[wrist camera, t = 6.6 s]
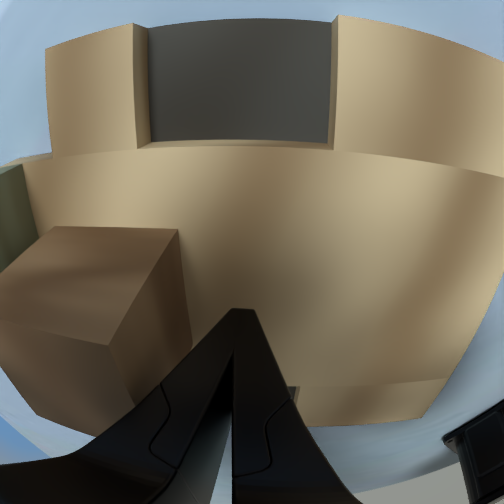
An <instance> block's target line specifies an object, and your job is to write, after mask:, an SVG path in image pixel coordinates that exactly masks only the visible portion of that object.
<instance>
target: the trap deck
mask: <svg viewBox="0 0 504 504" xmlns="http://www.w3.org/2000/svg"><path fill="white" fill-rule="evenodd" d="M45 71H46V96H47V110H48V121H49V131H50V139H51V147H52V153H46V154H40V155H35V156H29V157H24V158H19V159H16V160H14V161H12V162H10V163H7V164H5V165H3V166H1V167H0V273H1V272H2V271H4V270H5V269H6V268H7V267H8V266H9V265H10V264H11V263H12V262H13V261H14V260H15V259H17V258H18V257H19V256H20V255H21V254H22V253H23V252H24V251H26V250H27V249H28V248H29V247H30V246H31V245H32V244H34V243H35V242H36V241H37V240H38V239H40V238H41V237H42V236H43V235H44V234H46V233H47V232H48V231H49V230H50V229H52V228H53V227H54V226H84V227H131V228H166V229H178V234H179V244H180V253H181V261H182V270H183V278H184V285H185V293H186V300H187V307H188V314H189V321H190V327H191V334H192V340H193V345H192V349H193V348H194V347H195V346H196V345H197V344H198V343H199V342H200V340H201V339H202V338H203V337H204V336H205V335H206V334H207V333H208V332H209V331H210V330H211V329H212V328H213V327H214V326H215V325H216V324H217V323H218V322H219V320H220V319H221V318H222V317H223V316H224V315H225V314H226V313H227V312H228V311H229V310H230V309H231V308H246V309H254V310H255V311H256V314H257V316H258V318H259V321H260V323H261V325H262V328H263V330H264V333H265V335H266V337H267V340H268V342H269V344H270V347H271V349H272V351H273V354H274V356H275V358H276V361H277V363H278V365H279V368H280V370H281V372H282V375H283V377H284V379H285V382H286V384H287V386H288V389H289V391H290V393H291V395H292V399H293V400H294V402H295V404H296V407H297V409H298V411H299V413H300V415H301V417H302V419H303V421H304V423H305V425H306V427H319V426H348V425H364V424H376V423H386V422H395V421H403V420H411V419H418V418H422V417H423V415H424V414H425V413H426V411H427V410H428V408H429V407H430V406H431V404H432V403H433V401H434V400H435V399H436V397H437V396H438V394H439V393H440V391H441V390H442V388H443V387H444V385H445V384H446V382H447V381H448V379H449V378H450V376H451V375H452V373H453V371H454V370H455V368H456V367H457V365H458V363H459V362H460V360H461V358H462V356H463V355H464V353H465V351H466V350H467V348H468V346H469V344H470V342H471V341H472V339H473V337H474V335H475V333H476V331H477V329H478V327H479V325H480V324H481V322H482V320H483V318H484V316H485V313H486V311H487V309H488V307H489V305H490V303H491V301H492V299H493V296H494V294H495V292H496V290H497V287H498V285H499V282H500V280H501V278H502V275H503V273H504V62H502V61H500V60H498V59H496V58H493V57H491V56H489V55H486V54H484V53H482V52H479V51H477V50H474V49H472V48H469V47H466V46H464V45H461V44H458V43H455V42H453V41H450V40H447V39H444V38H441V37H437V36H434V35H431V34H428V33H424V32H421V31H417V30H413V29H409V28H406V27H402V26H397V25H393V24H389V23H384V22H379V21H374V20H369V19H363V18H357V17H351V16H344V15H338V16H337V17H336V18H335V19H334V20H333V22H332V23H330V22H321V21H310V20H295V19H265V18H253V19H223V20H208V21H197V22H188V23H180V24H172V25H165V26H159V27H153V28H145V27H143V26H140V25H137V24H134V23H131V24H126V25H122V26H118V27H114V28H110V29H106V30H102V31H99V32H95V33H92V34H88V35H85V36H82V37H78V38H75V39H72V40H69V41H66V42H63V43H61V44H58V45H55V46H52V47H50V48H47V49H45ZM192 349H191V350H192Z"/></svg>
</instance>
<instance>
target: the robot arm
mask: <svg viewBox="0 0 504 504" xmlns="http://www.w3.org/2000/svg"><path fill="white" fill-rule="evenodd" d="M231 422H232V504H363V503H361V502H360V501H359V500H358V499H356V498H355V497H354V496H353V495H352V494H351V492H350V491H349V490H348V489H347V488H346V487H345V485H344V484H343V483H342V481H341V480H340V478H339V477H338V475H337V474H336V472H335V471H334V469H333V468H332V466H331V465H330V463H329V462H328V460H327V459H326V457H325V456H324V454H323V453H322V451H321V450H320V448H319V447H318V445H317V444H316V442H315V441H314V439H313V437H312V436H311V434H310V432H309V430H308V429H307V427H306V425H305V423H304V421H303V419H302V417H301V415H300V413H299V411H298V409H297V407H296V404H295V402H294V400H293V399H292V395H291V393H290V391H289V389H288V386H287V384H286V382H285V379H284V377H283V375H282V372H281V370H280V368H279V365H278V363H277V361H276V358H275V356H274V354H273V351H272V349H271V347H270V344H269V342H268V340H267V337H266V335H265V333H264V330H263V328H262V325H261V323H260V321H259V318H258V316H257V314H256V311H255V310H254V309H246V308H231V309H230V310H229V311H228V312H227V313H226V314H225V315H224V316H223V317H222V318H221V319H220V320H219V322H218V323H217V324H216V325H215V326H214V327H213V328H212V329H211V330H210V331H209V332H208V333H207V334H206V335H205V336H204V337H203V338H202V339H201V340H200V342H199V343H198V344H197V345H196V346H195V347H194V348H193V349H192V350H191V351H190V352H189V353H188V354H187V355H186V356H185V357H184V358H183V359H182V360H181V361H180V362H179V363H178V364H177V365H176V367H175V368H174V369H173V370H172V371H171V372H170V373H169V374H168V375H167V376H166V377H165V378H164V379H163V380H162V381H161V382H160V385H157V386H156V387H155V388H154V389H153V390H152V391H151V392H150V393H149V394H148V395H147V396H146V397H145V398H144V399H143V400H142V401H141V402H140V403H139V404H137V405H136V406H135V407H134V408H133V409H132V410H130V411H129V412H128V413H127V414H126V415H124V416H123V417H122V418H121V419H120V420H118V421H117V422H116V423H114V424H113V425H112V426H110V427H109V428H108V429H107V430H105V431H104V432H103V433H101V434H100V435H99V436H97V437H96V438H95V439H93V440H92V441H91V442H89V443H88V444H87V445H85V446H84V447H82V448H80V449H79V450H77V451H75V452H73V453H70V454H68V455H65V456H60V457H55V458H49V459H43V460H36V461H29V462H21V463H12V464H2V465H0V504H210V501H211V497H212V493H213V490H214V486H215V482H216V479H217V475H218V471H219V468H220V464H221V460H222V456H223V453H224V449H225V445H226V441H227V438H228V434H229V430H230V426H231ZM443 442H444V445H446V446H447V447H448V448H450V449H451V450H452V451H454V452H455V453H456V454H458V456H459V460H460V464H461V468H462V472H463V476H464V480H465V485H466V489H467V494H468V499H469V504H495V503H497V502H499V501H500V500H502V499H504V401H503V402H502V403H500V404H499V405H497V406H496V407H494V408H493V409H491V410H490V411H488V412H487V413H485V414H484V415H482V416H480V417H479V418H477V419H476V420H474V421H472V422H471V423H469V424H467V425H465V426H464V427H462V428H460V429H458V430H457V431H455V432H453V433H451V434H449V435H447V436H446V437H444V438H443Z"/></svg>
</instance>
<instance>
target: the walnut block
mask: <svg viewBox="0 0 504 504" xmlns="http://www.w3.org/2000/svg"><path fill="white" fill-rule="evenodd" d="M192 345H193V340H192V334H191V327H190V321H189V314H188V307H187V300H186V293H185V285H184V278H183V270H182V261H181V253H180V244H179V234H178V229H166V228H131V227H84V226H54V227H53V228H52V229H50V230H49V231H48V232H47V233H46V234H44V235H43V236H42V237H41V238H40V239H38V240H37V241H36V242H35V243H34V244H32V245H31V246H30V247H29V248H28V249H27V250H26V251H24V252H23V253H22V254H21V255H20V256H19V257H18V258H17V259H15V260H14V261H13V262H12V263H11V264H10V265H9V266H8V267H7V268H6V269H5V270H4V271H2V272H1V273H0V366H1V368H2V369H3V371H4V372H5V374H6V375H7V377H8V378H9V379H10V381H11V382H12V384H13V385H14V386H15V388H16V389H17V390H18V392H19V393H20V394H21V396H22V397H23V398H24V400H25V401H26V402H27V403H28V405H29V406H30V407H31V408H32V410H33V411H34V412H35V413H36V415H38V416H40V417H43V418H45V419H48V420H50V421H53V422H55V423H58V424H60V425H63V426H65V427H68V428H71V429H74V430H76V431H79V432H82V433H85V434H88V435H91V436H94V437H97V436H99V435H100V434H101V433H103V432H104V431H105V430H107V429H108V428H109V427H110V426H112V425H113V424H114V423H116V422H117V421H118V420H120V419H121V418H122V417H123V416H124V415H126V414H127V413H128V412H129V411H130V410H132V409H133V408H134V407H135V406H136V405H137V404H139V403H140V402H141V401H142V400H143V399H144V398H145V397H146V396H147V395H148V394H149V393H150V392H151V391H152V390H153V389H154V388H155V387H156V386H157V385H160V382H161V381H162V380H163V379H164V378H165V377H166V376H167V375H168V374H169V373H170V372H171V371H172V370H173V369H174V368H175V367H176V365H177V364H178V363H179V362H180V361H181V360H182V359H183V358H184V357H185V356H186V355H187V354H188V353H189V352H190V351H191V349H192Z"/></svg>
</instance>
